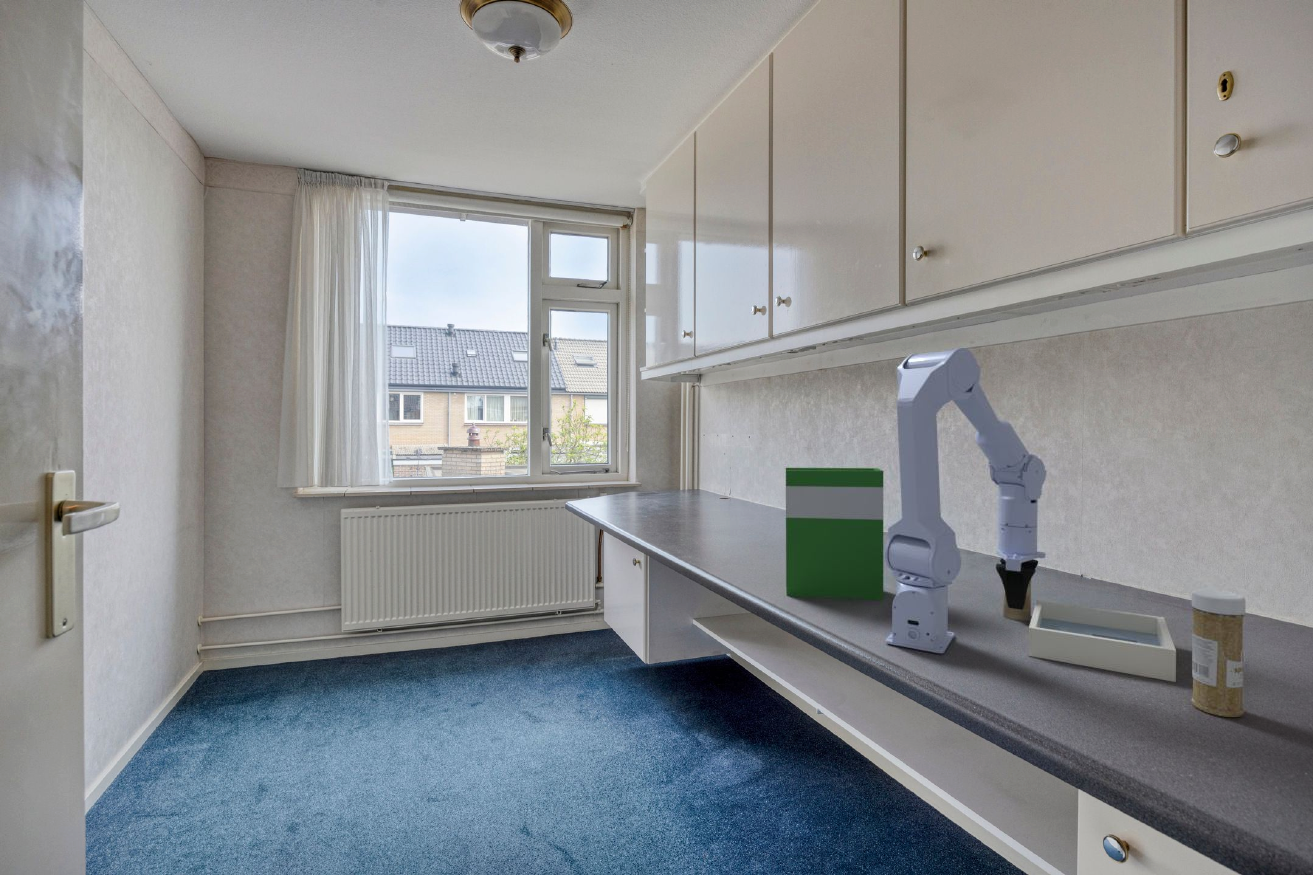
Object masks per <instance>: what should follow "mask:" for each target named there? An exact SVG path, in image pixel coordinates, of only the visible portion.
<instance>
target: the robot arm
mask: <svg viewBox="0 0 1313 875" xmlns="http://www.w3.org/2000/svg"><path fill="white" fill-rule="evenodd" d="M896 375H897V376H896V377H897V392H898V393H897V394H898V395H897V400H896V414H897V417H896V418H897V420H896V421H897V438H898V461H899V481H900V482H899V483H900V484H899V485H900V499H901V500H900V501H901V517H900V518H899V519H898V520H896V521H894V522H893V523H892V524H891V525H890V526H888V528H887V541H886V544H885V547H884V561H885V563H886V565H887V567H888V568H889V569H890V571H892V577H893V578H895V580H896V581H895V584H896V587H895V588H896V590H895V592H896V593H895V596H894V598H893V601H892V606H891V608H892V611H891V612H892V613H891V615H892V617H891V618H892V620H891V621H892V622H891V624H892V625H891V626H892V630H891V631H892V632H891V633H890V634H889V636H887V638H886V639H885V643H886V644H887V645H892V646H899V647H902V648H904V647H905V648H910V649H915V650H920V651H924V652H930V653H935V654H944V653H945V651H946V650H947V648H948V646H949V645H950V643H951V641H952V639H953V638H954V637H955V632H953V631H948V621H949V620H948V616H949V615H948V614H949V611H948V610H949V609H948V606H949V605H948V604H949V602H948V600H949V599H948V598H949V596H948V595H949V594H948V592H949V589H948V587H949V585H952V584H953V582H954V580H955V579H956V578H957V577H958V575H959V573H960V571H961V567H962V557H961V553H960V550H959V547H958V546H957V541H956V540H957V538H956V537H957V536H956V531H955V530H953V529H952V527H951V526H950V525H949V523H947V522H946V521H945V520H944V519H943V518H942V516H941V493H940V492H941V491H940V490H941V489H940V468H939V466H940V465H939V448H938V446H939V444H938V443H939V442H938V441H939V440H938V424H937V422H938V420H937V419H938V418H937V415H938V412H939V411H940V410H941V409H942V408H943V407H944V406H945V405H946V404H948V403H950V402H951V401H952V402H953V403H954V404H955V405H956V407H957V408H958V409H959V410H960V412H961V413H962V414H963V415H964V417H966V418H967V420H968V421H969V423H971V425H972V426H973V428H975V430H976V432H975V433H974V434H975V435H974V441H975V443H976V444H977V446H978V447H979V449H980V450H981V452H982V453H983V455H984V456H985V458H986V459H987V460H988V461H987V463H988V464H987V465H988V467H989V476H990V479H991V481H992V482H993V483H994V484H995V485H997V486H998V490H997V491H998V493H997V494H998V496H997V497H998V498H997V499H998V500H997V501H998V502H997V505H998V506H997V509H998V511H997V512H998V513H997V514H998V515H997V516H998V517H997V518H998V520H997V522H998V523H997V524H998V525H997V538H998V539H997V548H996V554H997V555H998V556H999V557H1000V560H999V562H1000V563H996V565H995V570H996V572H997V574H998V576H999V577H1000V580H1001V583H1002V585H1003V591H1004V590H1005V595H1006V600H1007V604H1008V607H1009V608H1013V609H1020V610H1023V607H1024V604H1025V600H1026V594H1027V589H1028V585H1029V582H1030V580H1031V581H1032V578H1033V576H1034V575H1035V573H1036V571H1037V569H1036V568H1037V566H1038V565H1039V560H1037V559H1045V558H1046V554H1047V553H1046V552H1045V551H1044V552H1043V551H1038V506H1039V505H1038V500H1039V499H1041V496H1042V495H1043V494H1042V493H1043V492H1042V490H1043V486H1044V483H1045V481H1046V478H1047V470H1046V467H1045V464H1044V461H1043V460H1042V459H1041V458H1039V457H1038V456H1037V455H1036V454H1031V453H1030V452H1029V451H1028V449H1027V447H1026V446H1025V445H1024V443H1023V441H1022V440H1021V439H1020V437H1019V436H1018V433H1017V432H1016V431H1015V429H1014V428H1013V426H1012V424H1011V423H1010V422H1009V421H1007V420H1005V419H998V417H997V414H996V413H995V411H994V409H993V408H992V405H991V404H990V401H989V400H988V398H987V395H986V394H985V392H984V390H983V388H982V386H981V384H980V378H981V365H979V363H978V362H977V359H976V357H975V355H974V354H973V352H972V351H971V350H970V349H968V348H965V347H957V348H955V349H948V350H941V351H934V352H925V353H917V352H916V353H911V354H909V355H908V356H906V358H904V360H903V361H902V362H901V363H900V364H899V365H898V366H897V368H896Z"/></svg>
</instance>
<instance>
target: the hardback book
mask: <svg viewBox="0 0 1313 875" xmlns="http://www.w3.org/2000/svg"><path fill="white" fill-rule="evenodd" d="M785 585H786V586H785V588H786V589H785V590H786V593H785V594H786V596H788V597H807V598H809V597H810V598H828V599H829V598H830V599H832V598H833V599H851V600H852V599H853V600H854V599H855V600H876V601H884V471H883V470H882V469H880V468H878V467H785Z"/></svg>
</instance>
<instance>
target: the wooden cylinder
mask: <svg viewBox="0 0 1313 875" xmlns="http://www.w3.org/2000/svg"><path fill="white" fill-rule="evenodd" d="M1031 610H1032V579H1031V580H1030V582H1029V585H1028V589H1027V594H1026V600H1025V604H1024V607H1023V610H1020V609H1013V608H1009V607H1008V604H1007V600H1006V595H1005V590H1004V589H1003V610H1002V612H1003V617H1004V618H1007V619H1009V620H1013V621H1020V622H1023V621H1024V622H1025V621H1026V622H1027V621H1031V618H1032V613H1031V612H1032V611H1031Z"/></svg>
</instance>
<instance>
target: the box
mask: <svg viewBox="0 0 1313 875" xmlns="http://www.w3.org/2000/svg"><path fill="white" fill-rule="evenodd" d="M1028 656H1029V657H1034V658H1039V659H1045V660H1051V661H1055V662H1062V663H1068V664H1073V665H1078V666H1084V667H1091V668H1096V669H1099V670H1100V669H1101V670H1105V671H1111V672H1117V673H1123V674H1127V675H1128V674H1129V675H1135V676H1139V677H1140V676H1141V677H1145V678H1151V679H1155V680H1162V681H1167V682H1173V683H1176V680H1177V678H1176V676H1177V675H1176V674H1177V669H1176V668H1177V650H1176V647H1175V644H1174V641H1173V639H1172V636H1171V633H1170V631H1169V628H1168V625H1167V623H1166V620H1165V617H1163V616H1156V615H1148V614H1141V613H1133V612H1127V611H1118V610H1111V609H1105V608H1104V609H1103V608H1096V607H1089V606H1082V605H1075V604H1068V603H1067V604H1066V603H1060V602H1051V601H1045V600H1036V602H1035V605H1034V609H1033V612H1032V614H1031V619H1030V623H1029V626H1028Z"/></svg>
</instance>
